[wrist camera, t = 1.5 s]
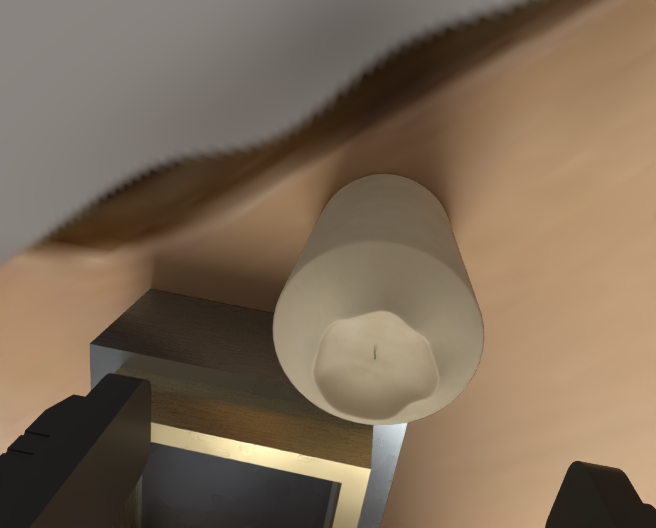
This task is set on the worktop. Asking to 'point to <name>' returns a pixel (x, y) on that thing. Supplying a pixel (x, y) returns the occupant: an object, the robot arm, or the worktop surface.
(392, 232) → the candle
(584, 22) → the worktop surface
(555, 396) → the worktop surface
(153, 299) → the grey open box
